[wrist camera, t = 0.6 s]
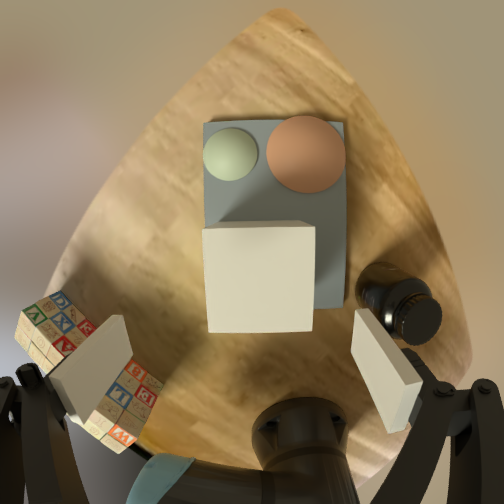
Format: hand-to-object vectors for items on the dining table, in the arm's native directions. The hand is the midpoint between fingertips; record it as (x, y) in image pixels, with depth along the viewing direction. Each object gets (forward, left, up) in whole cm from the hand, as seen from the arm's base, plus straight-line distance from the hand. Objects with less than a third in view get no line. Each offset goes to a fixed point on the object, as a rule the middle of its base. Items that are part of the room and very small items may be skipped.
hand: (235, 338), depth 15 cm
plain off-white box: (+1, -1, -18) cm, 18 cm away
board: (+6, -3, -19) cm, 20 cm away
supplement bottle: (-3, -16, -19) cm, 25 cm away
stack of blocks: (-13, +23, -19) cm, 33 cm away
